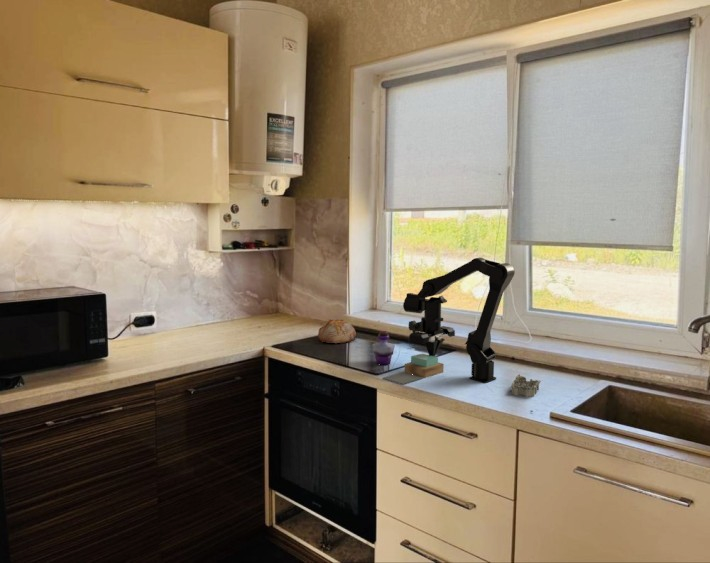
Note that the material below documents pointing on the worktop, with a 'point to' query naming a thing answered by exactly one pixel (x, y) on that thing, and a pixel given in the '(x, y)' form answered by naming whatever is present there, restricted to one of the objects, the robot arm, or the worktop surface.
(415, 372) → the block
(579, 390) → the worktop surface
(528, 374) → the worktop surface
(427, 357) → the tile
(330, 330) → the bread
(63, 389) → the worktop surface
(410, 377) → the mat
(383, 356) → the potion bottle
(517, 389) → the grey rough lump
